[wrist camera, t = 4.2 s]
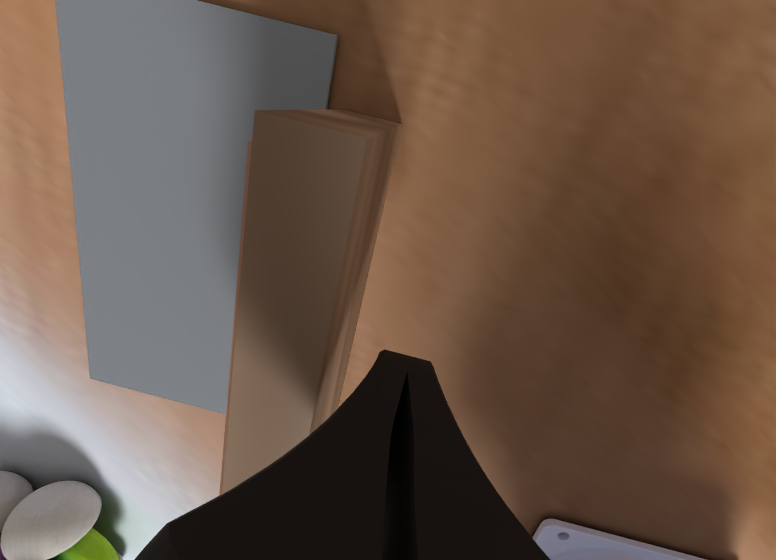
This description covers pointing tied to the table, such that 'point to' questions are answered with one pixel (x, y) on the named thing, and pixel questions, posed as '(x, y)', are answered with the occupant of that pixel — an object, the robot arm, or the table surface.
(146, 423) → the table surface
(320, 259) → the wooden block
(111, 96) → the felt mat
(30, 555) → the rainbow petal rattle
